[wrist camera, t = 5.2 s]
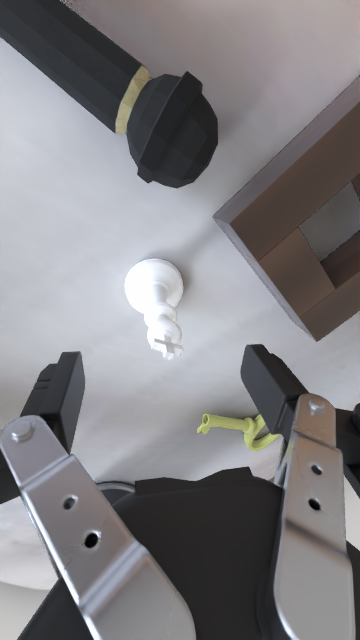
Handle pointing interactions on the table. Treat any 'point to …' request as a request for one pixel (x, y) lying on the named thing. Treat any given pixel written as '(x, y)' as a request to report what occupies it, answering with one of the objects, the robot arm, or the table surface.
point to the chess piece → (157, 302)
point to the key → (245, 425)
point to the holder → (303, 219)
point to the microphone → (118, 89)
